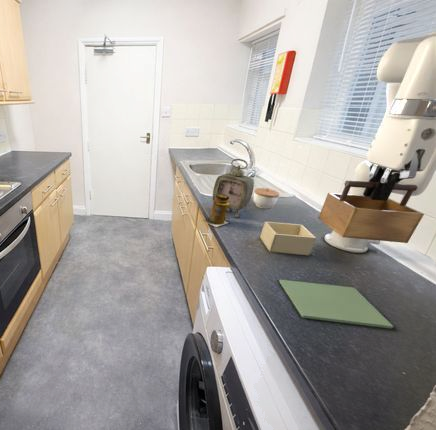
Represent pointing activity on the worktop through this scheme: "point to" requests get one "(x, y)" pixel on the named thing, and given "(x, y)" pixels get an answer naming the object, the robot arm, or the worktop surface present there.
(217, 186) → the tabletop clock
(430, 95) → the robot arm
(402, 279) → the worktop surface
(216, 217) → the condiment
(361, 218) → the wooden basket
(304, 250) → the cream basket
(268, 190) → the trinket box
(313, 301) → the green mat
